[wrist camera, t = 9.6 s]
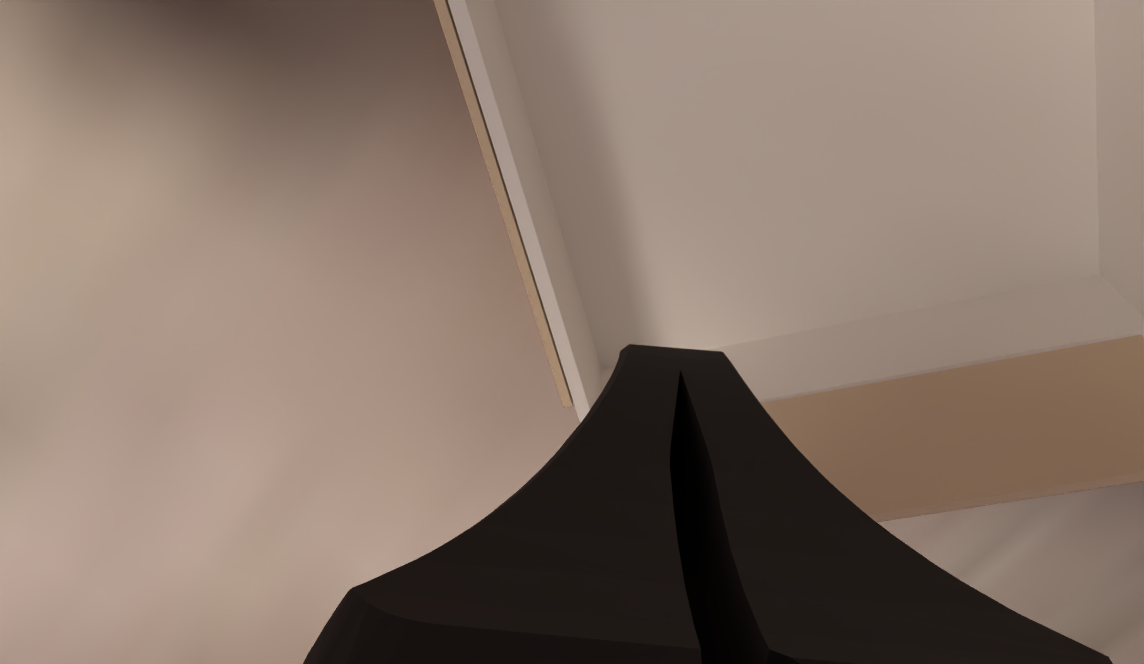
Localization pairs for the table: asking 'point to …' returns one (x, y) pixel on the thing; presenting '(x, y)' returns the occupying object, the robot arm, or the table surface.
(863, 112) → the carton
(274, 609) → the table surface
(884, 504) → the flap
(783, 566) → the robot arm
